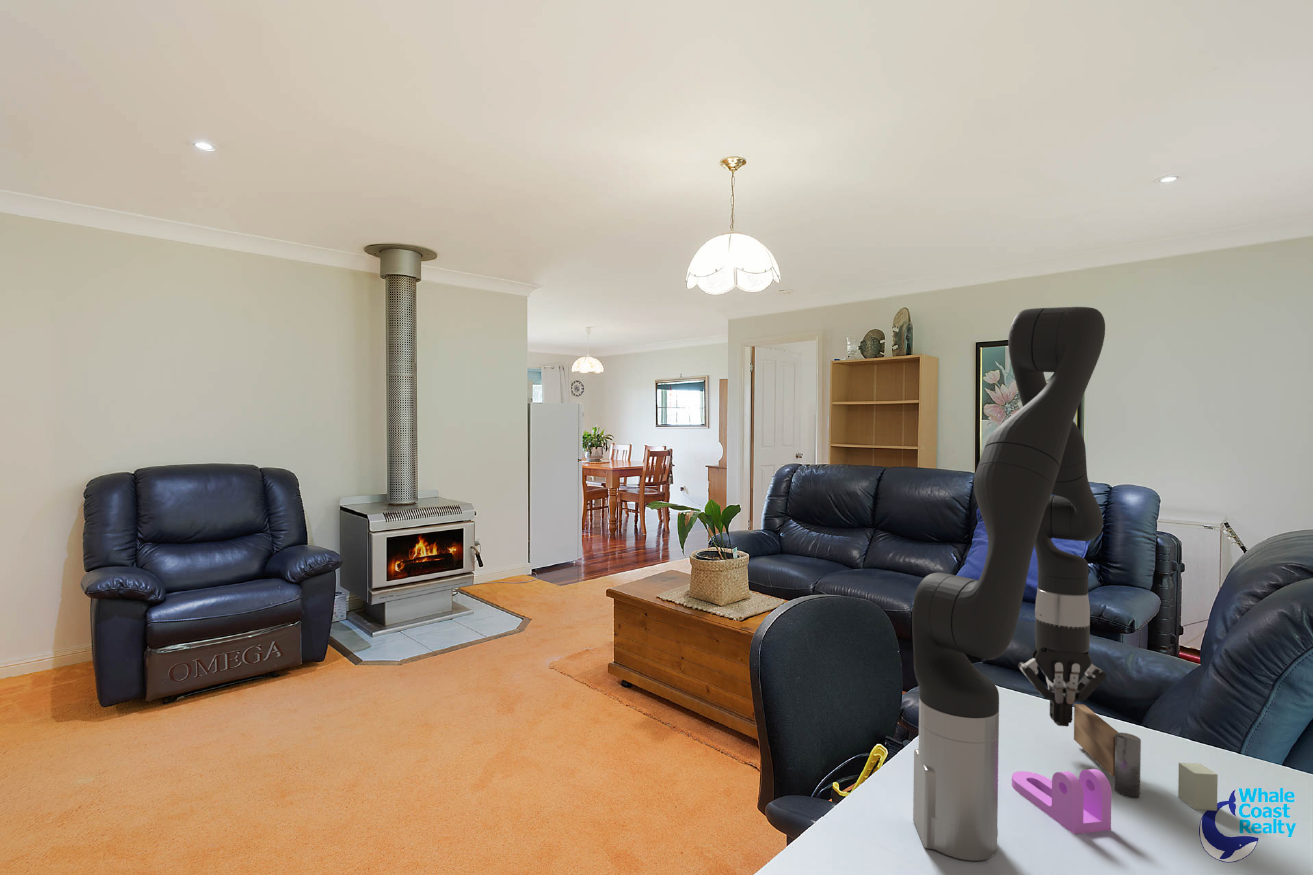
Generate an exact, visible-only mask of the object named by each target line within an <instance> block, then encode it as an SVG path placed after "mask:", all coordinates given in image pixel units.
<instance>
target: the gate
mask: <svg viewBox="0 0 1313 875" xmlns="http://www.w3.org/2000/svg"><path fill="white" fill-rule="evenodd" d="M1073 707H1074V709H1073V716H1074V717H1073V722H1074V723H1073V741H1075V742H1076V743H1077V744H1078V745H1079V746H1080V747H1081V749H1083V750H1084V751H1085V752H1086V753H1087V754H1088V755H1089V756H1090V757H1091V758H1092V759H1094V760H1095V761H1096V762H1097V763H1098V764H1099V765H1100V766H1101V767H1102V768H1103V769H1104V770H1106V772H1108V773H1109V775H1111V776H1112V777H1114V778H1115V734H1116V733H1120V732H1119V731H1118V730H1116V729H1115V728H1114V727H1112V726H1111V725H1110V724H1109V723H1107V721H1105V720H1104V719H1103V718H1101V717H1100V716H1099V715H1098V714H1097V713H1095V712H1094V711H1093V710H1092V709H1090V708H1089V707H1088V706H1087V705H1085V704H1084V703H1083V704H1082V703H1081V704H1080V703H1073Z"/></svg>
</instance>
